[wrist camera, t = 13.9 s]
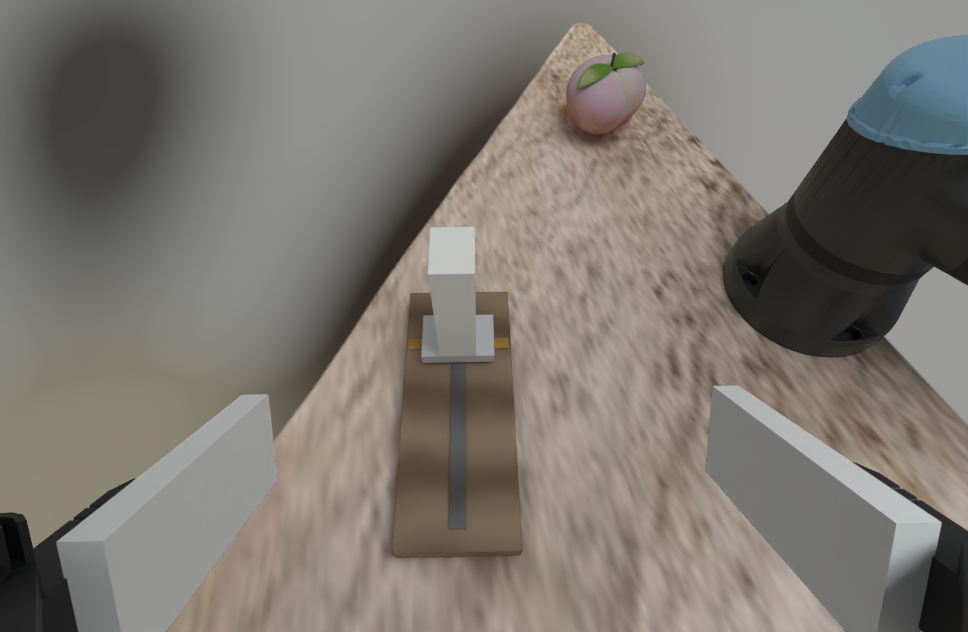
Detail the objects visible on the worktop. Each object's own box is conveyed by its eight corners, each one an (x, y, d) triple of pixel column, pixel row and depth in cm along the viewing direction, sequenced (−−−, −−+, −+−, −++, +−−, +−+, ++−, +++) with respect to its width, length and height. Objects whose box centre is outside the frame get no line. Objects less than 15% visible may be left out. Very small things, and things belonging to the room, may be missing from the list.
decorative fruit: (595, 100, 66) (612, 22, 57) (644, 131, 62) (669, 52, 54) (544, 130, 62) (554, 51, 54) (592, 164, 59) (611, 85, 51)
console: (520, 555, 36) (522, 550, 34) (396, 557, 36) (391, 553, 34) (506, 304, 48) (507, 290, 46) (413, 305, 48) (410, 292, 46)
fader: (494, 361, 42) (498, 273, 32) (422, 362, 42) (404, 274, 32) (492, 321, 44) (496, 226, 34) (424, 322, 44) (408, 227, 34)
